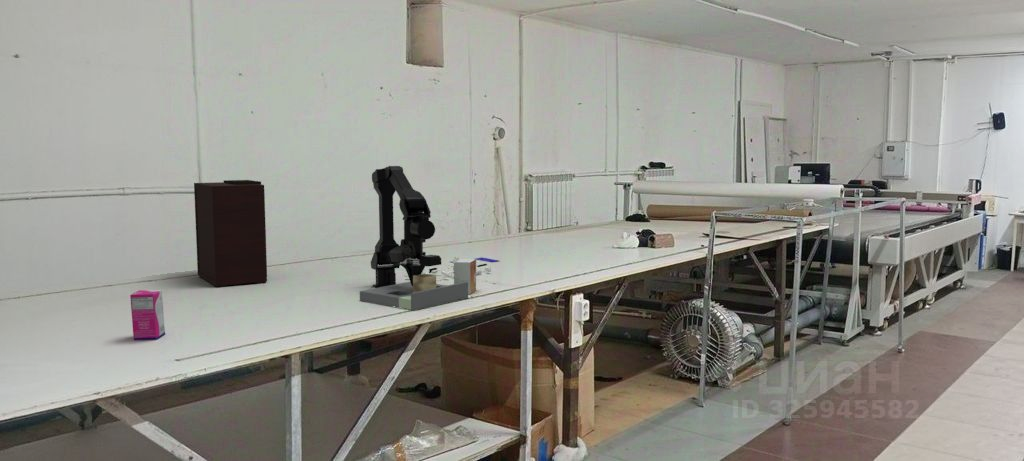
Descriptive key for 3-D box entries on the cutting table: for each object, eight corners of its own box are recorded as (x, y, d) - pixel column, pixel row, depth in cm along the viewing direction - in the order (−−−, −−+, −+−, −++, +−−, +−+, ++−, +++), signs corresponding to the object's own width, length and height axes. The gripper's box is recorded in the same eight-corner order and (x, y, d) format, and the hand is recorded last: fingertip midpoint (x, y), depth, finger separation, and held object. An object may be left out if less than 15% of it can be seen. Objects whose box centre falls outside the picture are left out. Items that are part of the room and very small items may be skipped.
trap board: (359, 300, 236) (359, 284, 236) (415, 289, 255) (414, 274, 255) (413, 310, 222) (413, 293, 222) (468, 297, 241) (468, 282, 241)
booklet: (433, 264, 313) (433, 262, 313) (481, 259, 329) (481, 257, 329) (450, 268, 304) (450, 266, 304) (499, 262, 320) (499, 260, 320)
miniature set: (477, 267, 299) (498, 275, 291) (403, 283, 276) (424, 293, 267) (478, 251, 298) (499, 259, 289) (404, 266, 274) (425, 275, 266)
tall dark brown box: (215, 287, 257) (211, 183, 254) (197, 276, 279) (193, 180, 275) (272, 282, 268) (269, 182, 264) (250, 272, 290) (247, 179, 286)
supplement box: (141, 334, 193) (139, 289, 192) (165, 334, 193) (163, 289, 192) (132, 340, 187) (129, 294, 186) (157, 339, 188) (155, 293, 186)
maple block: (413, 291, 235) (412, 275, 235) (424, 289, 239) (424, 273, 239) (424, 293, 232) (424, 277, 232) (436, 291, 236) (436, 275, 236)
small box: (470, 294, 247) (470, 262, 246) (453, 294, 248) (453, 261, 247) (476, 290, 255) (476, 258, 254) (460, 289, 256) (460, 258, 255)
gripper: (373, 235, 236) (373, 286, 238) (416, 240, 225) (416, 293, 227) (399, 232, 245) (399, 281, 247) (442, 237, 234) (442, 288, 235)
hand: (413, 285), depth 239 cm, fingers closed
